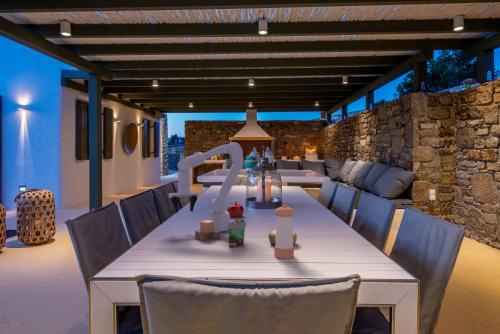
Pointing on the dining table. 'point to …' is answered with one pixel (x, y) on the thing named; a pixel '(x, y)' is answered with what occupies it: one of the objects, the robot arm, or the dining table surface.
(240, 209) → the pomegranate
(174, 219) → the dining table surface
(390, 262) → the dining table surface
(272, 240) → the pastry
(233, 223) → the food container
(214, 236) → the walnut block
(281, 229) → the pepper shaker
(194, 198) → the robot arm
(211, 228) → the terracotta cube
